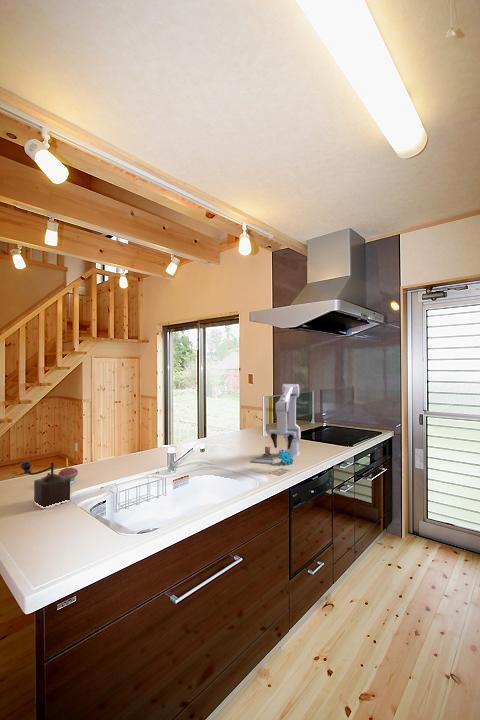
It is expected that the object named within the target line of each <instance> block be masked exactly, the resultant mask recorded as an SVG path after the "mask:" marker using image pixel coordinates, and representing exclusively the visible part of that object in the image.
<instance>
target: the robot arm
mask: <svg viewBox="0 0 480 720" xmlns="http://www.w3.org/2000/svg"><path fill="white" fill-rule="evenodd" d="M281 391H282V394H281V395H280V397H279V399H278V401H277V402H275V406H274V407H275V415H276V429H275V430H273V429H271V430H269V431H268V434H269V435H270V438H271V440H272V443H273V446H274V449H277V447H278V436H279V435H280V436H283V438H284V440H285V441H286V450H287V452H286V453H289V452H290V456H292V455H293V456H294V457H299V455H300V453H301V452H300V451H299V441H300V440H301V437H302V436H301V434H302V433H301V427H300V426H299V425H298V424H297V398H299V397H300V385H299V384H298V383H283V384H282V386H281Z"/></svg>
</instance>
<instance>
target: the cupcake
mask: <svg viewBox="0 0 480 720" xmlns="http://www.w3.org/2000/svg"><path fill="white" fill-rule="evenodd" d="M65 462H66V463H65V465H66V467H64V468H62V469H61V470H60V471H59V472H58V474H57V475H59V474H60V475H62V476H64V477H67V478H69V479H70V482H71V481H74V482H75V479H76V477H77V476H78V474H79V471H78V469H77V468H74V467H69V460H68V458H66V461H65Z"/></svg>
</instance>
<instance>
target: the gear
mask: <svg viewBox="0 0 480 720" xmlns="http://www.w3.org/2000/svg"><path fill="white" fill-rule="evenodd" d="M277 456H278V459H279V460H280V463H283V464H284V465H288V466H290V465H293V464H294V461H295V459H294V457H295V456H293V455H292V456H290V452H289V453H287V449H285V450H284V449H283V448H282V449H280V450H278V453H277Z"/></svg>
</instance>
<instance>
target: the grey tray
mask: <svg viewBox="0 0 480 720" xmlns="http://www.w3.org/2000/svg"><path fill="white" fill-rule="evenodd" d="M275 461H276V458H274V457H273V458H262V456H261V457H259V456H254V458H253V459H251V461H250V462H251V463H255V464H267V465H268V464H269V465H272V464H273V463H274V462H275Z"/></svg>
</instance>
